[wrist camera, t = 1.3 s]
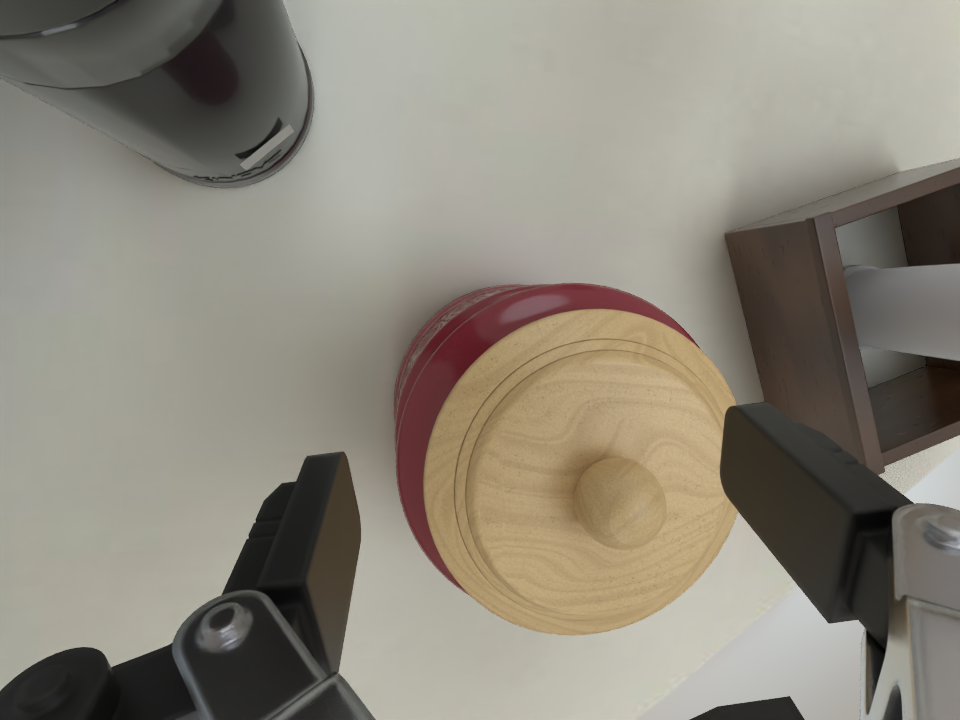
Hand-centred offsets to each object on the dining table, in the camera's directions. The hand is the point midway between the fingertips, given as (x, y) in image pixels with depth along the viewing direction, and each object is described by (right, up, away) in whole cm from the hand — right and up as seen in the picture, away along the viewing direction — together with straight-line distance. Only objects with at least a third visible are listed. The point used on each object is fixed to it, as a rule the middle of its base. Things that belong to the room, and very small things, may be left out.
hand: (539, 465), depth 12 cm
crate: (+21, +6, +23) cm, 32 cm away
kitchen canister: (0, 0, +21) cm, 21 cm away
